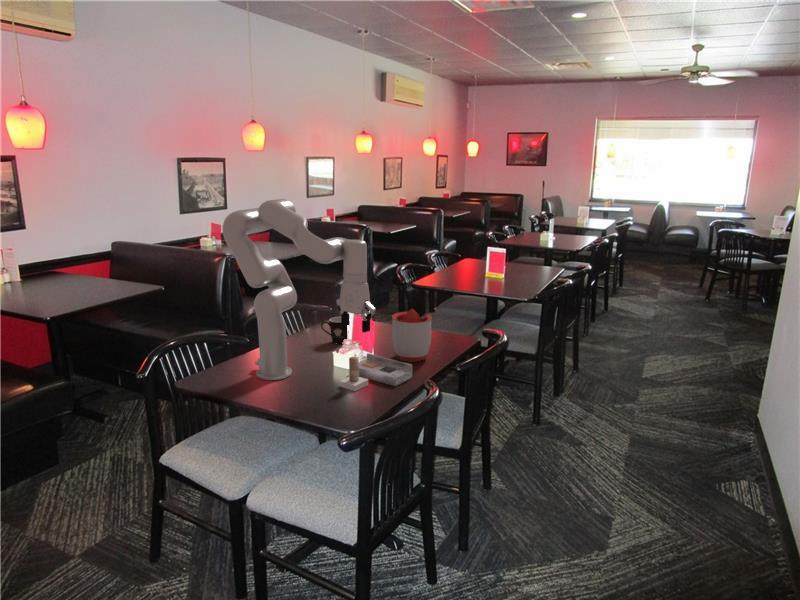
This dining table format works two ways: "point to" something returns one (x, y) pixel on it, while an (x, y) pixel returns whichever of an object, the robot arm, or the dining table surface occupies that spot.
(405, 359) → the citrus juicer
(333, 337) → the coffee mug
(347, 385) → the white flat square block
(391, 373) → the grey tray
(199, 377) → the dining table surface
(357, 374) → the peg
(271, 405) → the dining table surface
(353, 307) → the robot arm
